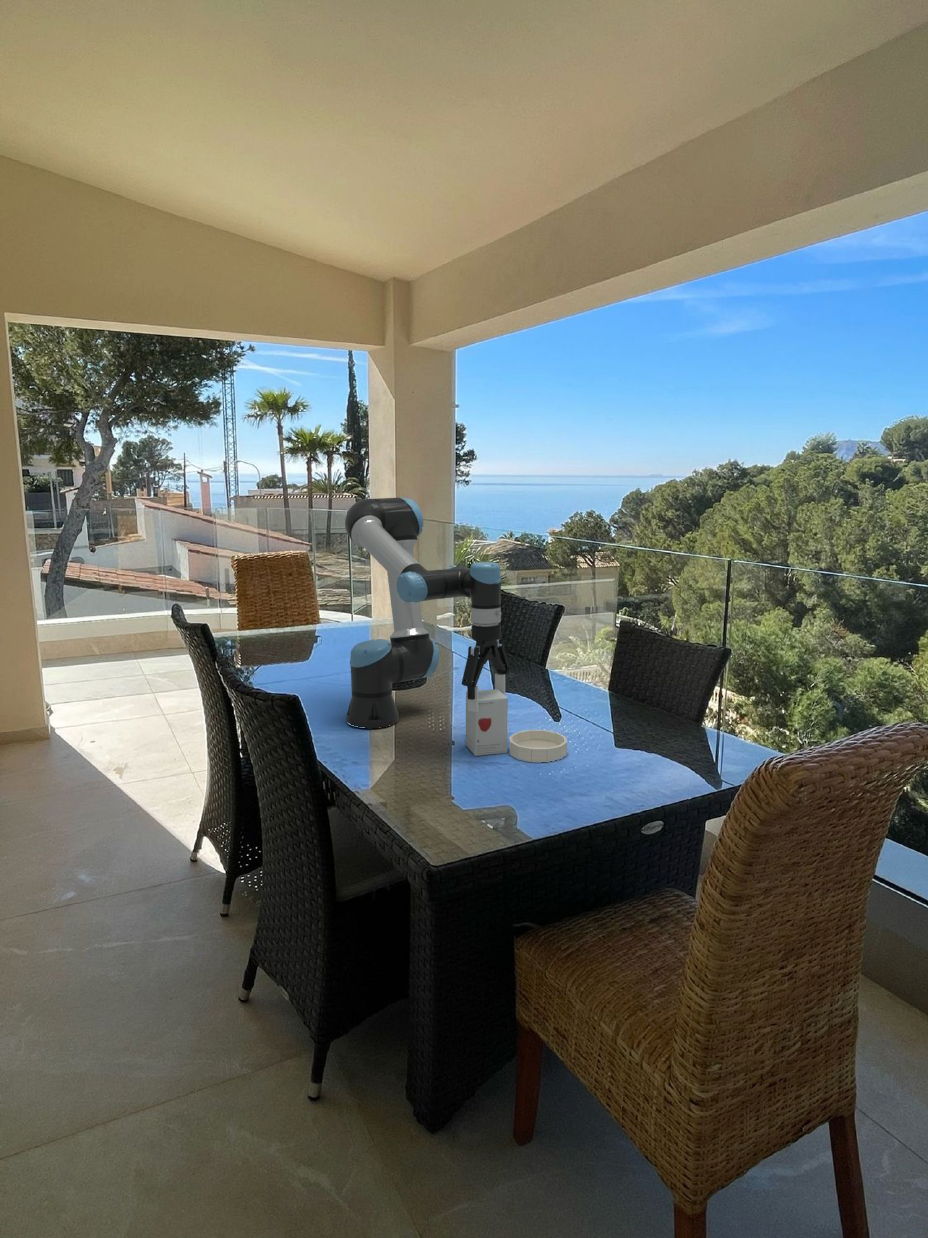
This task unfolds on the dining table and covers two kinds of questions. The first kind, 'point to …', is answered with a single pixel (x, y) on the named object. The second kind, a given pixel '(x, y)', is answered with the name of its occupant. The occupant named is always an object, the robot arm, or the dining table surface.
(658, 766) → the dining table surface
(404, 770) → the dining table surface
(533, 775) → the dining table surface
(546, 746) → the bowl
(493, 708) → the supplement box
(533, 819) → the dining table surface
